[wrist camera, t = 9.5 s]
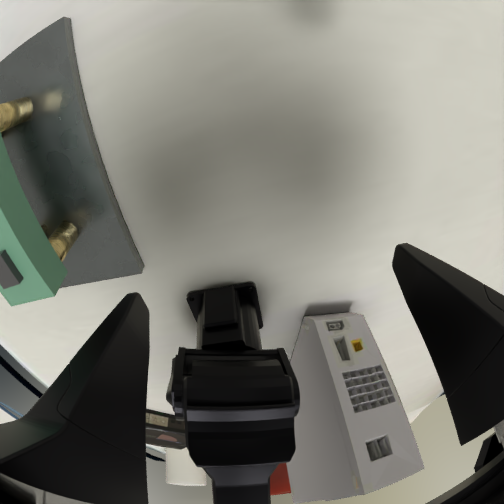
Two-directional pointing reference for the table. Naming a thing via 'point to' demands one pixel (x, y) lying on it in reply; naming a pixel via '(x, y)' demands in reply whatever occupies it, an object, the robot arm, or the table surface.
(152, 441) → the portable cd player
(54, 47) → the chassis plate
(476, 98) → the table surface
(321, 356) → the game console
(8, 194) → the circuit board
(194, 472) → the cup
